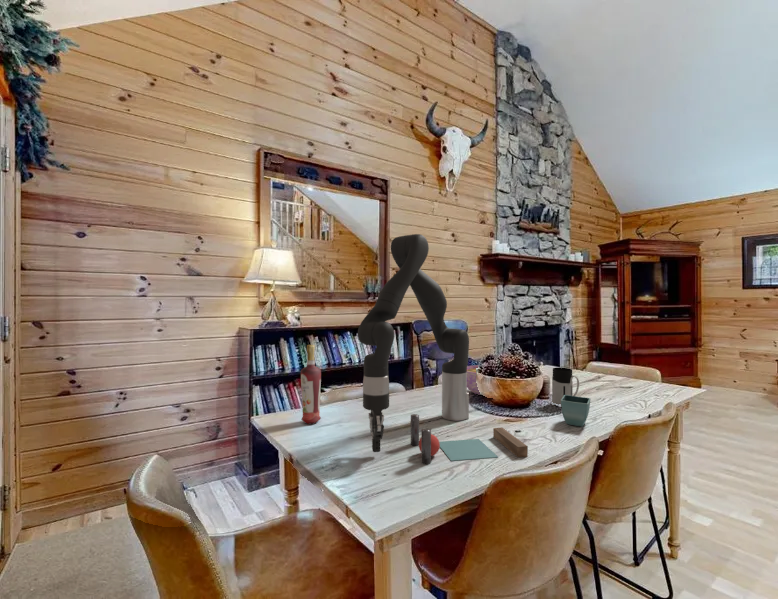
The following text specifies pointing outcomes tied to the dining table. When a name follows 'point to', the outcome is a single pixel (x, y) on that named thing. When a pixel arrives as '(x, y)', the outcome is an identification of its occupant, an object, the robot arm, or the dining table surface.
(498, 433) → the wall
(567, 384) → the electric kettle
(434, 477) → the dining table surface
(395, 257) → the robot arm
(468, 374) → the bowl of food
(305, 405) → the red condiment bottle
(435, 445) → the ball
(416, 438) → the post far
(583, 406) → the flower pot
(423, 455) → the post near
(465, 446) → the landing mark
